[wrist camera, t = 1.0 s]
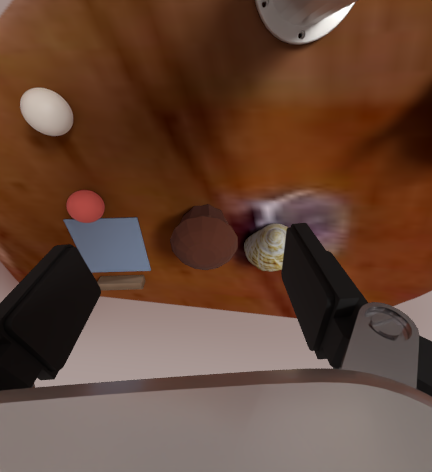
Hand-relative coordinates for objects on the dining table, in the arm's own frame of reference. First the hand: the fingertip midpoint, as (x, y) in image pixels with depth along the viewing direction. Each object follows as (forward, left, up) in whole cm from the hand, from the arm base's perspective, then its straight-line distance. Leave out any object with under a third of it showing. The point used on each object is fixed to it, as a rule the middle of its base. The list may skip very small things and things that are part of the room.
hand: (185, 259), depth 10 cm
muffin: (+16, 0, -29) cm, 33 cm away
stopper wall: (+31, -20, -29) cm, 47 cm away
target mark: (+21, -20, -29) cm, 41 cm away
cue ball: (-4, -20, -26) cm, 33 cm away
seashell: (+20, +13, -29) cm, 38 cm away
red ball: (+10, -20, -26) cm, 35 cm away
